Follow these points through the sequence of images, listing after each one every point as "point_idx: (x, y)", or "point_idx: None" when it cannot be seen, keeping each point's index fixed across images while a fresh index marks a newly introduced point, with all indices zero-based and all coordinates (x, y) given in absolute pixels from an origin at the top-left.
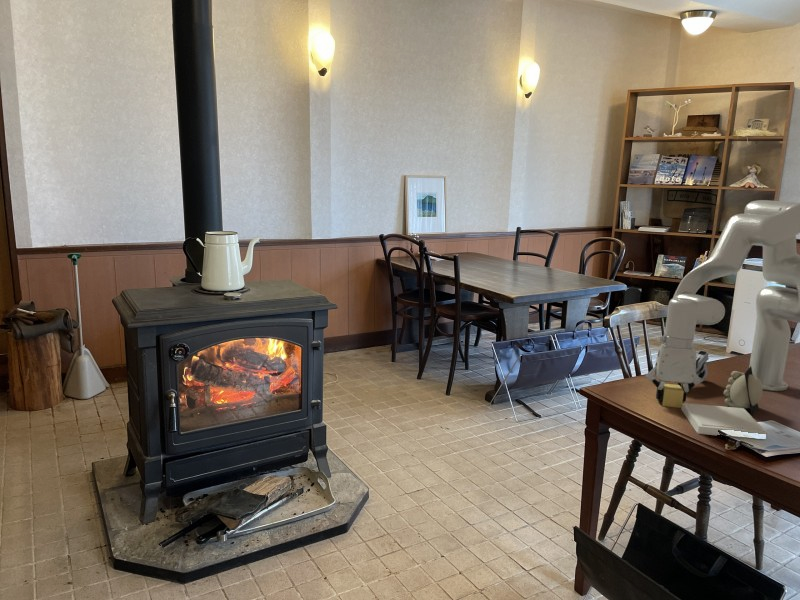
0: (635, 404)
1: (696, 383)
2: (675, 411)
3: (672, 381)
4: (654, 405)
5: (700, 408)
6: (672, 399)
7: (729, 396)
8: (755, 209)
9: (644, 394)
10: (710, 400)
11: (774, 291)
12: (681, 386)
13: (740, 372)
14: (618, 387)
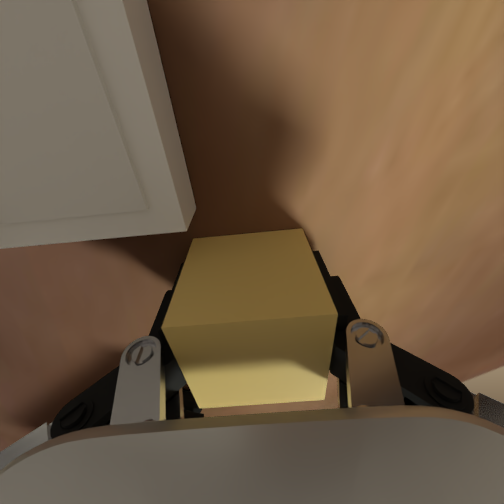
0: (480, 196)
1: (29, 444)
2: (236, 157)
3: (300, 423)
4: (353, 220)
5: (10, 125)
6: (253, 261)
7: None
8: None
9: None
10: (72, 357)
11: None
12: (188, 414)
13: None
14: (436, 365)
